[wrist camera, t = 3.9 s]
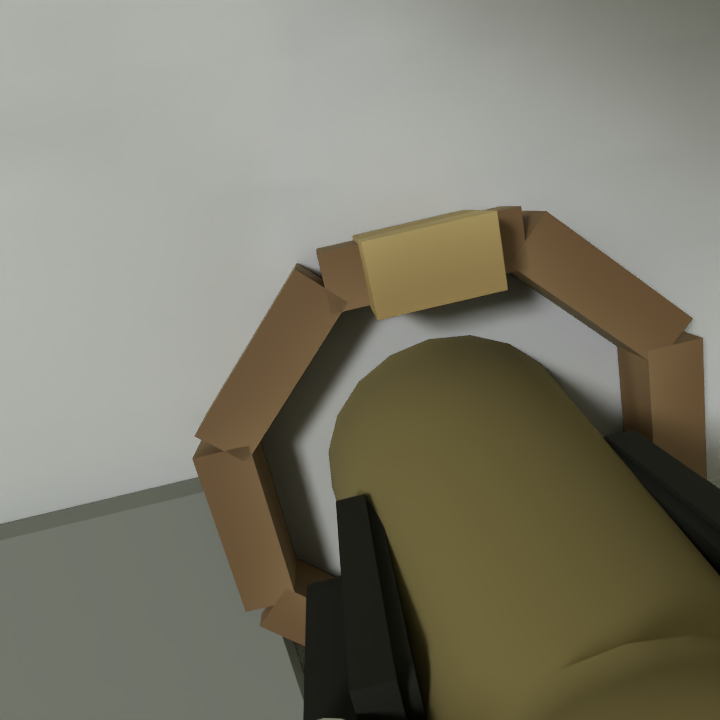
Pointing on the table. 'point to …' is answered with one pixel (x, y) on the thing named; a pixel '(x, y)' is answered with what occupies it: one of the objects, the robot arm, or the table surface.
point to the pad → (134, 618)
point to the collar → (414, 293)
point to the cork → (525, 545)
